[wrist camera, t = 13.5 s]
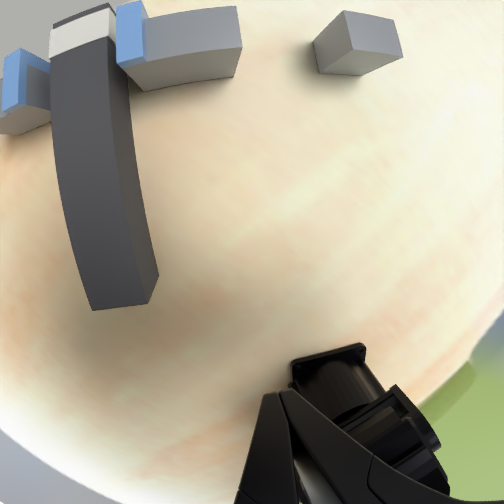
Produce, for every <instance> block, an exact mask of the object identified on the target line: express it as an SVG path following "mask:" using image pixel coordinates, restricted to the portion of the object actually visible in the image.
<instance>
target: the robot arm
mask: <svg viewBox="0 0 504 504" xmlns="http://www.w3.org/2000/svg"><path fill="white" fill-rule="evenodd" d="M359 349H360V350H359ZM365 356H366V347H365V345H364V344H362V343H359V344H356V345H352V346H349V347H345V348H341V349H338V350H334V351H330V352H326V353H323V354H319V355H314V356H310V357H306V358H302V359H297V360H294V361H293V362H292V363H291V379H292V383H289V385H288V389H285V390H281V391H279V392H271V393H266V394H264V395H263V397H262V402H261V406H260V410H259V414H258V418H257V422H256V426H255V429H254V433H253V437H252V441H251V445H250V448H249V452H248V456H247V460H246V463H245V467H244V470H243V474H242V478H241V481H240V485H239V488H238V489H239V490H238V491H237V494H236V498H235V501H234V504H299V502H300V503H302V504H504V500H501V501H500V500H499V501H464V500H459V499H455V498H452V497H450V496H449V495H450V486H449V484H448V483H447V482H448V478H447V475H446V473H445V472H444V470H443V468H442V466H441V465H440V463H439V461H438V460H437V458H436V456H435V455H434V453H433V452H435V451H436V450H438V449H439V448H441V443H440V441H439V439H438V437H437V435H436V434H435V432H434V430H433V429H432V427H431V426H430V424H429V423H428V421H427V420H426V418H425V417H424V416H423V414H422V413H421V412H420V411H419V410H418V408H417V407H416V406H415V405H414V404H413V403H412V402H411V401H410V399H409V398H408V397H407V396H406V395H405V394H404V393H403V392H402V390H401V389H400V388H399V387H398V386H397V385H396V384H395V385H393V386H392V387H391V388H390V390H388V391H387V392H386V391H385V390H384V388H383V387H382V385H381V384H380V383H379V381H378V380H377V378H376V377H375V376H374V374H373V373H372V372H371V370H370V369H369V367H368V366H367V365H366V363H365ZM297 365H299V366H297ZM295 366H297V367H295Z"/></svg>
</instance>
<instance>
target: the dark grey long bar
mask: <svg viewBox="0 0 504 504" xmlns="http://www.w3.org/2000/svg"><path fill="white" fill-rule="evenodd" d="M48 59H50V60H51V62H50V106H51V124H52V137H53V147H54V156H55V164H56V171H57V178H58V184H59V190H60V195H61V201H62V206H63V211H64V215H65V220H66V224H67V229H68V233H69V237H70V241H71V245H72V249H73V252H74V256H75V259H76V263H77V266H78V270H79V273H80V276H81V280H82V283H83V286H84V289H85V292H86V295H87V298H88V301H89V303H90V306H91V309H92V311H96V310H104V309H112V308H120V307H128V306H135V305H143V304H148V302H149V300H150V297H151V295H152V292H153V290H154V287H155V285H156V282H157V280H158V277H159V274H158V269H157V265H156V261H155V257H154V252H153V248H152V244H151V239H150V234H149V229H148V225H147V220H146V215H145V209H144V204H143V199H142V193H141V187H140V181H139V175H138V169H137V162H136V155H135V148H134V140H133V132H132V123H131V114H130V103H129V92H128V78H127V73H126V72H125V71H124V70H123V69H122V68H121V67H120V66H119V65H118V64H117V61H116V13H115V12H114V10H113V9H112V7H111V6H110V4H109V3H106V4H103V5H100V6H97V7H94V8H92V9H89V10H86V11H83V12H81V13H78V14H76V15H73V16H71V17H69V18H66V19H64V20H62V21H60V22H57V23H55V24H53V30H51V32H50V42H49V57H48Z"/></svg>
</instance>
